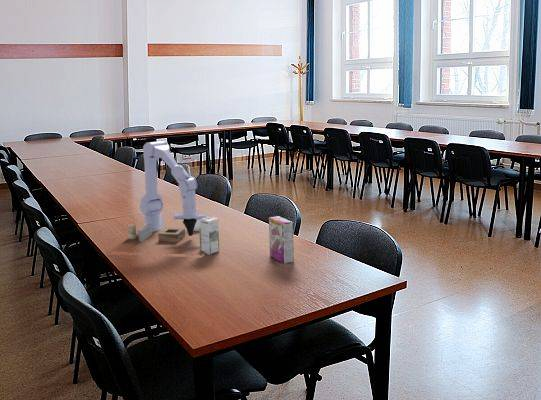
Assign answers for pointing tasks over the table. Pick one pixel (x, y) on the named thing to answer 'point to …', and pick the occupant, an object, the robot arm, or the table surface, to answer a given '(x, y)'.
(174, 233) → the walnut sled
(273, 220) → the candy bar box
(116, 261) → the table surface
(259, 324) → the table surface
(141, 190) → the table surface
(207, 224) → the syrup box
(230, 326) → the table surface
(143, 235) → the backstop board
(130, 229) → the birch dowel
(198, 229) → the motion sensor
